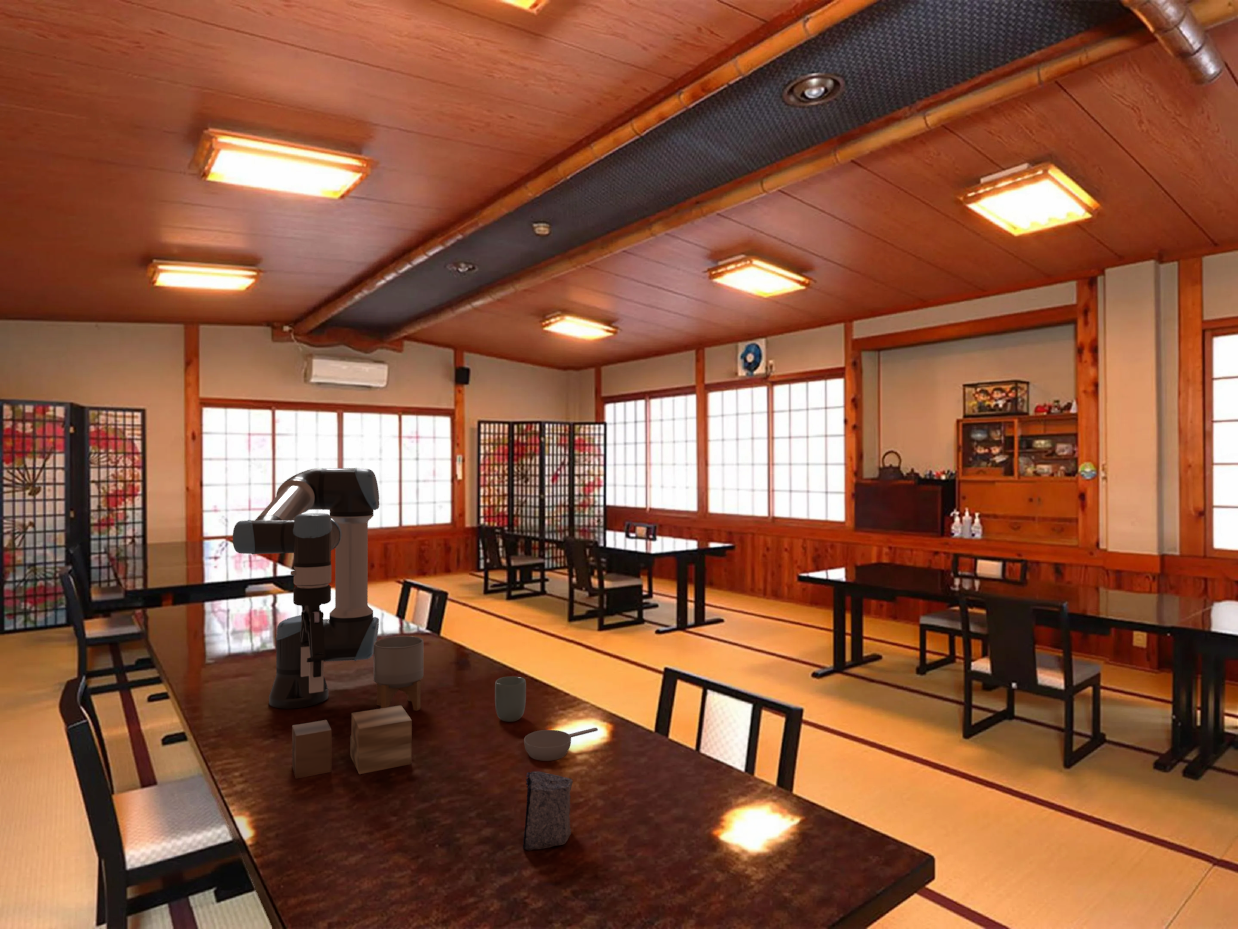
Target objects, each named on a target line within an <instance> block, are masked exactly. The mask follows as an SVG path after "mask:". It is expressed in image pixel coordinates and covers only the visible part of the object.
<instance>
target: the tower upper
mask: <svg viewBox="0 0 1238 929" xmlns="http://www.w3.org/2000/svg"><path fill="white" fill-rule="evenodd" d="M412 721H413V720H412V719H411V717H410V716H409V714H408V713H407V712H406V710H405V709H404V708H403V706H402V704H401V705H395V706H394V705H393V706H389V707H387V708H381V707H380V708H376V709H375V708H374V709H370V710H362V711H356V712H351V735H352V737H353V739H354V742H355V744H356V746H357V748H358V750H359V752H364V751H369V750H375V749H380V748H386V747H392V746H397V745H403V744H408V743H411V744H412V742H413V741H412V739H413V738H412V737H413V735H412V734H413V732H412V731H413V730H412V729H413V726H412V725H413V722H412Z"/></svg>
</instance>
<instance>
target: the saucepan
mask: <svg viewBox="0 0 1238 929" xmlns="http://www.w3.org/2000/svg"><path fill="white" fill-rule="evenodd" d="M598 730H599V729H598V728H597V727H591V728H588V729H585V730H581V731H576V732H572V733H567V732H565V731H563V730H556V729H555V730H554V729H543V730H537V731H536V730H535V731H533V732H531V733H528V734H527V735H525V737H524V739H523V741H524V742H523V743H524V749H525V751H526V753H527V754H528V756H529V757H530V758H531V759H534V760H537V761H543V762H549V761H556V760H559V759H560V760H561V759H562V758H564V757H566V755H567V753H568V752H569V750H570V749H571V748H570V747H571V745H572V744H571V743H572V738H575V737H578V736H583V735H586V734H590V733H594V732H598Z"/></svg>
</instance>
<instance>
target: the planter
mask: <svg viewBox="0 0 1238 929" xmlns="http://www.w3.org/2000/svg"><path fill="white" fill-rule="evenodd" d="M423 677H424V639H423V638H422V637H419V636H414V635H399V636H396V635H395V636H390V637H389V636H388V637H384V638H383V637H382V638H381V639H377V641H375V642H374V653H373V682H374V683H376V706H379V707H380V709H381V708H387V707H391V702H392V700H393V697H394V696H395V695H396V694H397V693H398V692H399V691H401V692H403V693H404V694H406V695H407V697H406V698H407V701H408V702H411V704H412V711H419V710H421V683H422V682H421V680H422V679H423Z"/></svg>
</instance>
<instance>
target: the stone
mask: <svg viewBox="0 0 1238 929" xmlns="http://www.w3.org/2000/svg"><path fill="white" fill-rule="evenodd" d="M525 782H526V783H525V785H527V786H526V788H527V790H526V791H527V792H526V804H525V805H526V807H525V808H526V810H525V821H524V833H523V842H522V843H523V844H522V848H523V849H524V850H527V851H532V850H543V849H549V848H552V847H558V846H561V845H565V844H566V843H567V842H568V840H569V838H570V836H571V835H572V829H571V822H570V819H571V818H570V812H571V798H572V797H571V790H572V785H573V779H572V778H570V777H566V776H563V775H562V776H561V775H556V774H553V773H547V772H544V771H531V772H530V771H529V772H526V776H525Z"/></svg>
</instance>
